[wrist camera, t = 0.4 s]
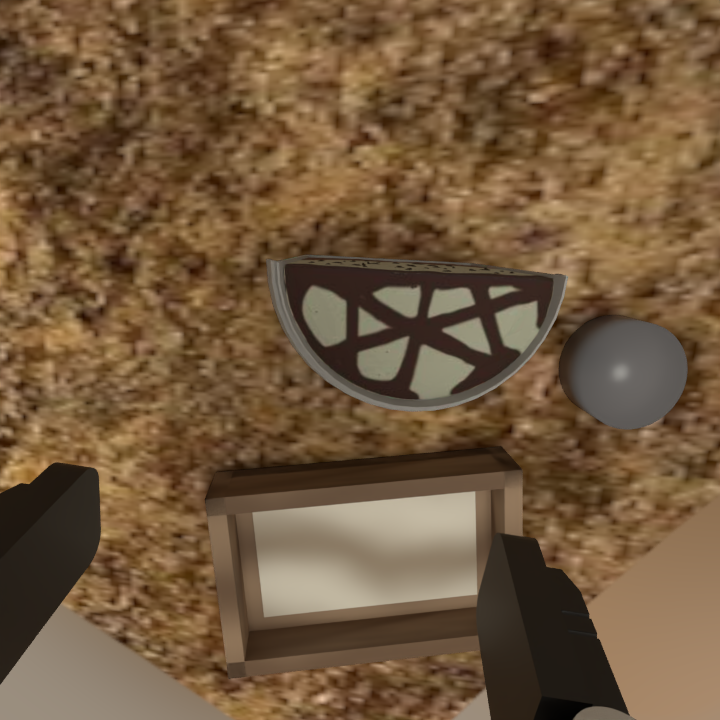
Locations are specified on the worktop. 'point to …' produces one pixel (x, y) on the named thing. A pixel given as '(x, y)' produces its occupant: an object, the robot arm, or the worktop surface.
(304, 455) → the worktop surface
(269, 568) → the tray
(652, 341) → the grey domed puck
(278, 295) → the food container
